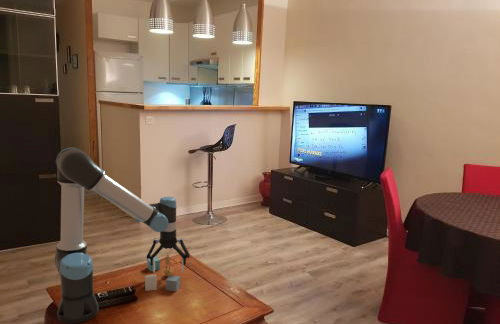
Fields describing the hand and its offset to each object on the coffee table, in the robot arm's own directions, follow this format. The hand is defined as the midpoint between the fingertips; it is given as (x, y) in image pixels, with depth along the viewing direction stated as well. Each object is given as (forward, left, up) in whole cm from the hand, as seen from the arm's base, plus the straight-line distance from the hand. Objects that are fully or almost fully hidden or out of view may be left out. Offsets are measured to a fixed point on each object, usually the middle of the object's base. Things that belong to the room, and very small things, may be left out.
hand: (168, 271), depth 192 cm
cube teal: (-8, +10, -3) cm, 13 cm away
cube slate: (+3, -11, -3) cm, 12 cm away
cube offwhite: (-7, -10, -3) cm, 13 cm away
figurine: (0, 0, -3) cm, 3 cm away
